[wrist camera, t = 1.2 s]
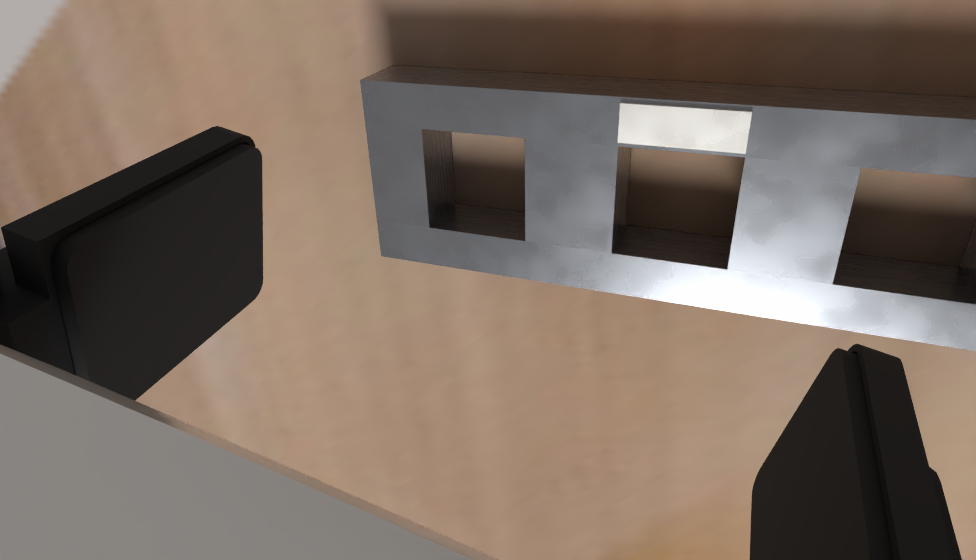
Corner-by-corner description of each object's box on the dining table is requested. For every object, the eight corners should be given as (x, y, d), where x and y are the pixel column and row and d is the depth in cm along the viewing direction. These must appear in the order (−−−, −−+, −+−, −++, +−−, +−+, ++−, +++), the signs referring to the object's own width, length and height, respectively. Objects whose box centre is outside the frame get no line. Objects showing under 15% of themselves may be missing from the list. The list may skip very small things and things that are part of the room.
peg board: (1115, 104, 27) (1155, 132, 24) (1026, 320, 32) (1049, 365, 29) (392, 65, 38) (358, 80, 35) (409, 231, 42) (379, 257, 39)
